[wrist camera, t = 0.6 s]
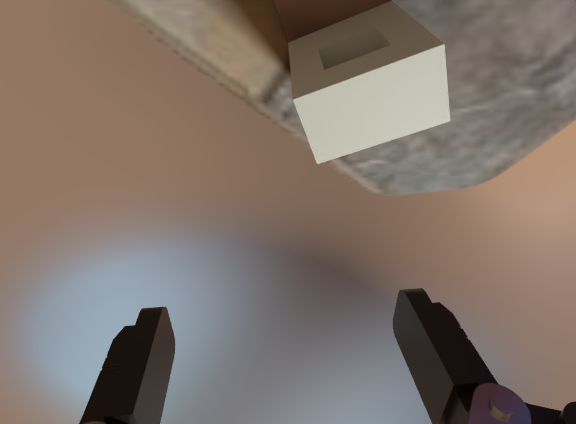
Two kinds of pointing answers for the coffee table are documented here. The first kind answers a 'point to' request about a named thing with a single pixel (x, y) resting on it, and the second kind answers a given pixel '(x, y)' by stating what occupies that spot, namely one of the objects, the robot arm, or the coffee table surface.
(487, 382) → the robot arm
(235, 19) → the coffee table surface
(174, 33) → the coffee table surface
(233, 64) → the coffee table surface
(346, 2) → the board
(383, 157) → the coffee table surface
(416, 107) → the socket block
